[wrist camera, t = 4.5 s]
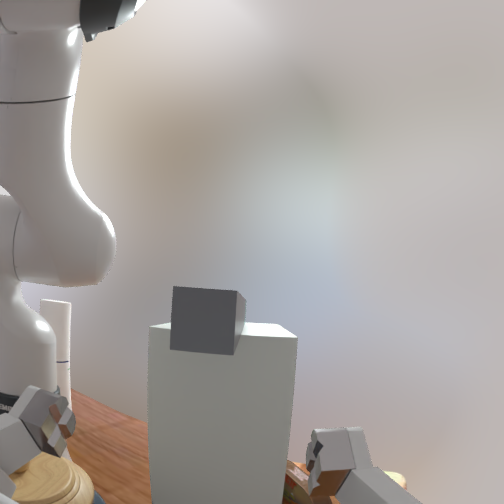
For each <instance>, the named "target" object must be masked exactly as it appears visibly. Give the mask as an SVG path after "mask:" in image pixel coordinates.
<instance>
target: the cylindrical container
mask: <svg viewBox="0 0 504 504" xmlns="http://www.w3.org/2000/svg"><path fill="white" fill-rule="evenodd" d="M40 315H41V316H42V317H43V318H44V319H45V320H46V321H47V322H48V323H49V324H50V326H51V327H52V329H53V331H54V333H55V337H56V367H57V385H58V386H59V388H60V395H61V396H64V397H66V398H67V400H68V402H69V405H68V406H67V407H68V408H69V409H70V410H71V411H72V409H71V391H70V321H71V303H69V302H63V301H56V300H47V299H41V301H40Z"/></svg>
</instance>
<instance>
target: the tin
mask: <svg viewBox="0 0 504 504" xmlns="http://www.w3.org/2000/svg"><path fill="white" fill-rule="evenodd" d="M308 478H309V476H308V475H307V474H306V473H305V472H303V471H302V470H301V469H300V468H299V467H297V466H296V465H295V464H294V463H293V462H291V461H289V460H287V465H286V474H285V482H284V490H283V498H282V504H332V502H331V499H330V497H329V496H317V497H309V490H308Z"/></svg>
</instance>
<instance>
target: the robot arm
mask: <svg viewBox="0 0 504 504" xmlns="http://www.w3.org/2000/svg"><path fill="white" fill-rule="evenodd" d="M145 1H146V0H0V185H1V186H2V187H3V188H5V189H6V190H7V191H8V192H9V194H10V195H11V196H6V195H0V504H19V503H18V502H16V501H14V500H12V499H11V498H12V496H13V494H14V492H15V490H16V488H17V487H16V484H15V483H14V482H13V481H12V480H11V479H10V478H9V475H10V474H12V473H13V472H14V471H16V470H17V469H19V468H20V467H22V466H23V465H25V464H26V463H27V462H29V461H30V460H32V459H33V458H35V457H36V456H37V455H39V454H40V453H42V452H45V453H48V454H50V455H53V456H56V457H59V458H61V456H62V457H64V458H66V459H68V460H70V461H72V460H71V458H70V455H69V453H68V450H67V447H66V446H67V442H66V439H67V438H69V437H70V436H72V434H73V432H74V430H75V424H76V420H75V416H74V413H73V412H72V411H71V410H70V409H69V408H68V407H67V406H68V405H69V402H68V400H67V398H66V397H64V396H61V395H60V388H59V386H58V385H57V367H56V337H55V333H54V331H53V329H52V327H51V326H50V324H49V323H48V322H47V321H46V320H45V319H44V318H43V317H42V316H41V315H39V314H38V313H37V312H35V311H34V310H32V309H31V308H30V307H29V306H27V304H26V302H25V301H24V298H23V296H22V291H21V282H23V281H25V282H31V283H38V284H45V285H52V286H59V287H78V286H88V285H97V284H98V283H99V282H101V281H102V280H103V279H104V278H105V276H106V275H107V274H108V272H109V271H110V269H111V267H112V265H113V262H114V259H115V255H116V247H117V245H116V236H115V231H114V228H113V226H112V224H111V222H110V220H109V218H108V217H107V216H106V214H105V213H104V212H102V211H101V210H100V209H98V208H97V207H96V206H95V205H94V204H93V203H92V202H91V201H90V200H89V198H88V197H87V196H86V194H85V193H84V192H83V190H82V188H81V186H80V184H79V182H78V180H77V178H76V176H75V173H74V170H73V166H72V161H71V154H70V138H71V123H72V114H73V113H72V112H73V106H74V99H75V94H76V88H77V82H78V76H79V69H80V62H81V53H82V45H83V35H84V36H85V40H86V42H89V41H92V40H94V39H95V37H96V36H97V34H98V33H99V32H103V31H107V30H111V29H114V28H116V27H118V26H119V25H121V24H122V23H124V22H126V21H127V20H129V19H130V18H132V17H133V16H134V15H135V13H136V11H137V10H138V8H140V7H141V6H142V5H143V4H144V3H145ZM311 440H312V441H311V442H310V443H309V444H308V447H307V452H306V469H307V470H308V471H309V472H310V475H309V478H308V490H309V497H317V496H335V497H336V499H337V500H338V501H339V502H340V503H341V504H422V503H421V502H420V501H418V500H417V499H415V497H413V496H412V495H411V494H409V493H408V492H407V491H406V490H405V489H403V488H402V487H401V486H400V485H399V484H397V483H396V482H395V481H394V480H393V479H391V478H390V477H389V476H388V475H387V474H385V473H384V472H383V471H382V470H381V469H379V468H378V467H373V465H372V461H371V458H370V454H369V450H368V447H367V443H366V439H365V435H364V432H363V429H362V428H361V427H350V428H329V429H328V428H327V429H314V430H313V431H312V434H311ZM41 451H42V452H41Z"/></svg>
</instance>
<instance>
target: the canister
mask: <svg viewBox="0 0 504 504" xmlns="http://www.w3.org/2000/svg"><path fill="white" fill-rule="evenodd" d="M41 452H42V451H41ZM9 478H10V479H11V480H12V481H13V482H14V483H15V484H16V487H17V488H16V490H15V492H14V494H13V496H12V498H11V499H12V500H14V501H16V502H18V503H19V504H106V503H105V501H104V500H103V498H102V497H101V496H100V495H99V494H98V493H97V492H96V491H95V490H94V487H93V484H92V481H91V479H90V478H89V476H88V475H87V474H86V472H85V471H84V470H83V469H81V468H80V467H79V466H78V465H76V464H75V463H73V462H72V461H70V460H68V459H66V458H64V457H62V456H61V458H59V457H56V456H53V455H50V454H48V453H45V452H42V453H40V454H39V455H37V456H36V457H35V458H33V459H32V460H30V461H29V462H27V463H26V464H25V465H23V466H22V467H20V468H19V469H17V470H16V471H14V472H13V473H12V474H10V475H9Z"/></svg>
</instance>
